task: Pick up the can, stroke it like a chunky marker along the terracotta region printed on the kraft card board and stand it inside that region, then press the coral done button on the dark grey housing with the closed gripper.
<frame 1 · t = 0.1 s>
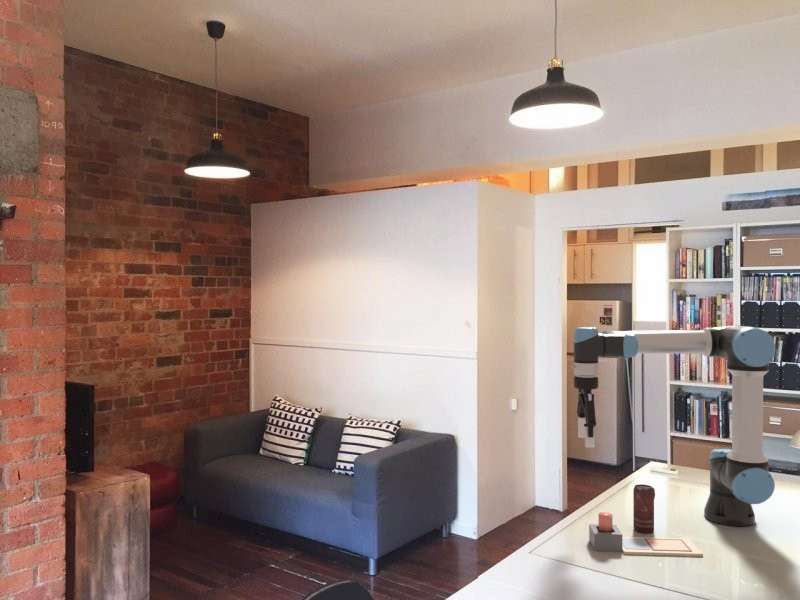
hand: (586, 442, 212), 28 cm above the table, fingers open, 13 cm apart
can: (644, 531, 211), on the table
button housing: (605, 546, 199), on the table
board: (657, 547, 197), on the table
done button: (605, 521, 199), point 7 cm above the table, slide at 0.0 cm
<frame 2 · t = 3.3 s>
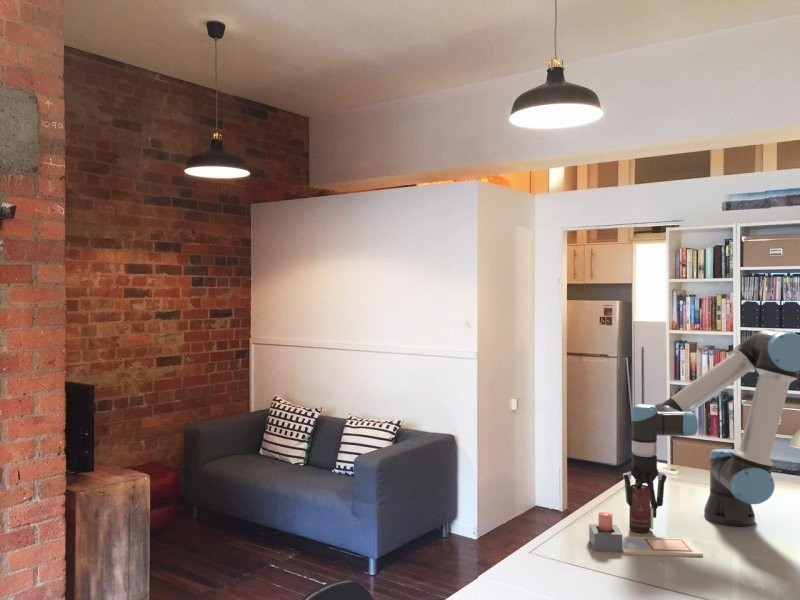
hand: (644, 527, 211), 1 cm above the table, fingers open, 3 cm apart
can: (640, 530, 212), on the table, touching gripper, hand
everything else where it was.
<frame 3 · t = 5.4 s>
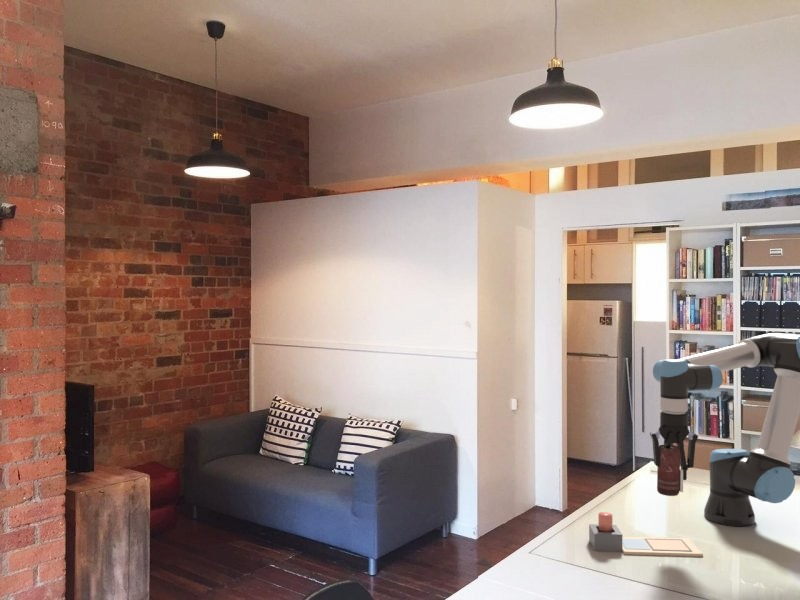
hand: (673, 490, 198), 17 cm above the table
can: (668, 493, 198), point 16 cm above the table, touching gripper, hand
everything else where it was.
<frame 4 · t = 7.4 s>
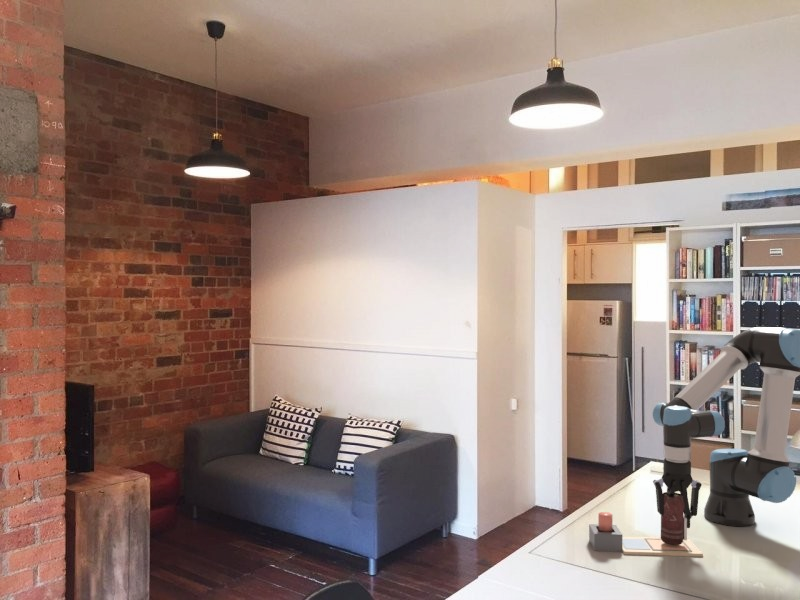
hand: (677, 538, 197), 3 cm above the table
can: (672, 542, 197), point 2 cm above the table, touching gripper, hand
everything else where it was.
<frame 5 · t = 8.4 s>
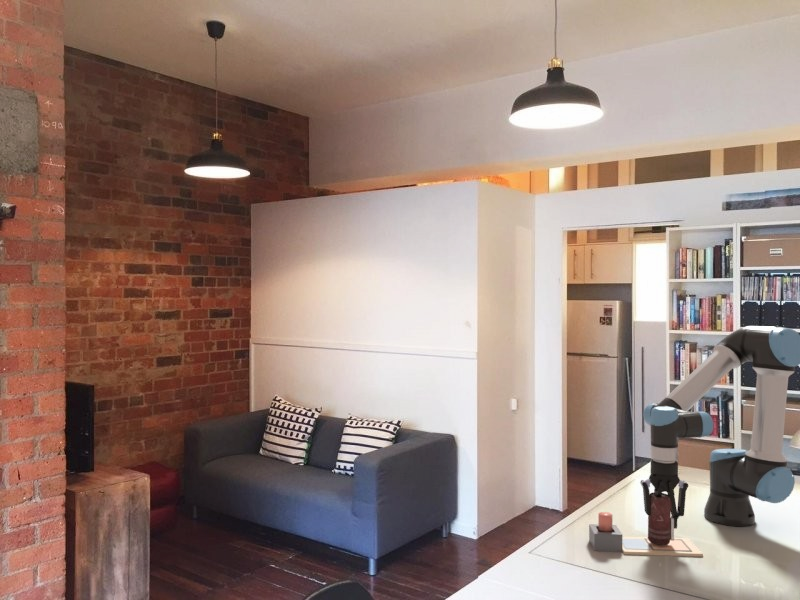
hand: (664, 538, 197), 3 cm above the table
can: (659, 542, 197), point 1 cm above the table, touching gripper, hand
everything else where it was.
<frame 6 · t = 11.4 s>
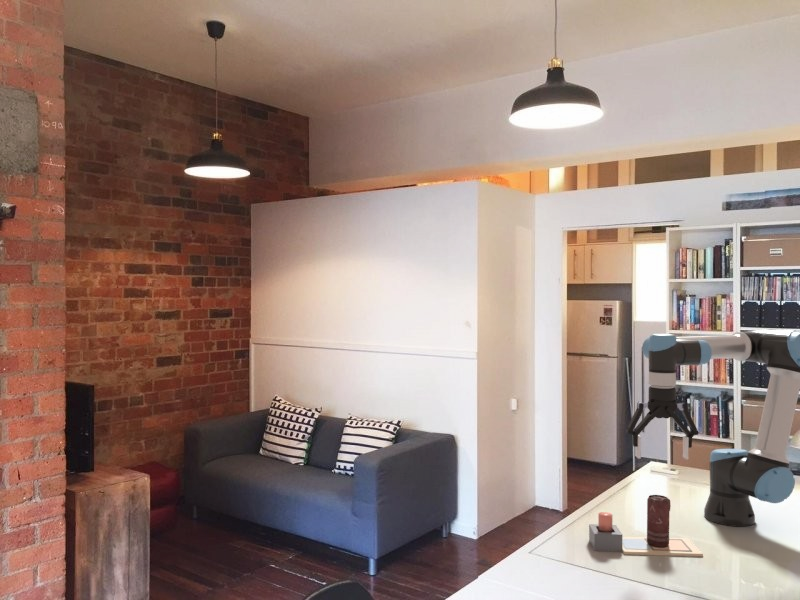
hand: (661, 458, 197), 27 cm above the table, fingers open, 13 cm apart
can: (658, 544, 197), point 1 cm above the table, touching board
everything else where it was.
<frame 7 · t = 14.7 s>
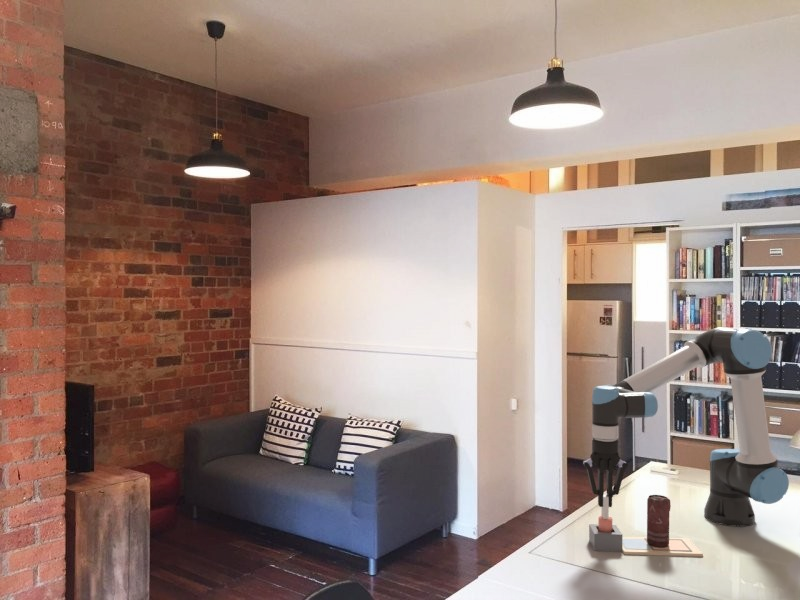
hand: (604, 517, 199), 9 cm above the table, fingers closed
done button: (605, 525, 199), point 6 cm above the table, slide at 1.2 cm, touching gripper
everything else where it was.
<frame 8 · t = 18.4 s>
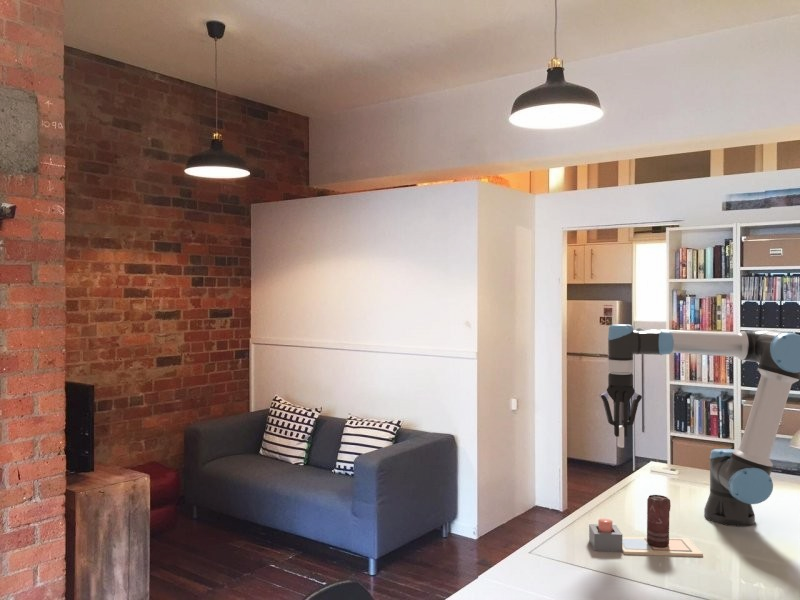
hand: (620, 446, 213), 26 cm above the table, fingers closed
done button: (605, 528, 199), point 5 cm above the table, slide at 2.0 cm
everything else where it was.
at the end: can inside the target area (2.6 cm from its centre), point 0.7 cm above the table; can tilted 1°; done button slide at 2.0 cm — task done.
